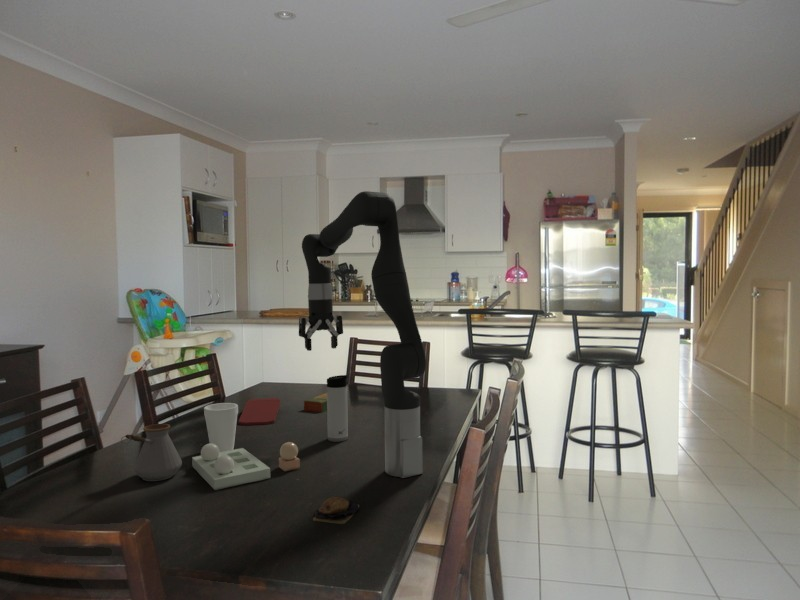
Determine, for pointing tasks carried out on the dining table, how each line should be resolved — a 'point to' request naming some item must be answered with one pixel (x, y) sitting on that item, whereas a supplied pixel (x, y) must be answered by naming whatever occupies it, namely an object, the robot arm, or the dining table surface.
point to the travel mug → (337, 408)
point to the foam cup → (221, 424)
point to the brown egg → (288, 451)
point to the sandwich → (336, 510)
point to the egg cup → (289, 464)
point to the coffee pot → (156, 454)
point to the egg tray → (242, 473)
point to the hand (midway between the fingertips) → (321, 349)
